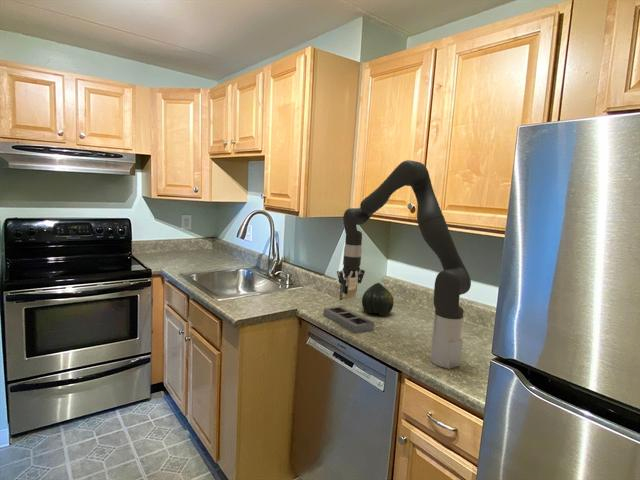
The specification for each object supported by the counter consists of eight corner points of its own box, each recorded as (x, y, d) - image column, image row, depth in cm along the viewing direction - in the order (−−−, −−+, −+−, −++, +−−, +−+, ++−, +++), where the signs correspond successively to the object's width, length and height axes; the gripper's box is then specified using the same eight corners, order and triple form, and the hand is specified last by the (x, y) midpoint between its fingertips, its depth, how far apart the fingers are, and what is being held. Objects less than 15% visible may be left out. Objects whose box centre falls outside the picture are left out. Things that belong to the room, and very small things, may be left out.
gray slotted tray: (373, 329, 158) (374, 323, 158) (354, 333, 153) (355, 326, 152) (340, 312, 178) (341, 306, 178) (323, 314, 173) (323, 308, 172)
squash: (378, 309, 168) (391, 282, 174) (352, 302, 178) (365, 276, 184) (390, 325, 176) (402, 298, 182) (364, 317, 187) (377, 292, 193)
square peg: (355, 300, 163) (357, 277, 162) (347, 301, 161) (349, 278, 160) (349, 297, 167) (351, 275, 165) (342, 298, 165) (344, 276, 163)
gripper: (344, 257, 154) (341, 297, 157) (370, 255, 162) (367, 294, 164) (333, 253, 161) (331, 292, 163) (360, 252, 168) (357, 289, 171)
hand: (349, 293), depth 164 cm, fingers closed on square peg, 4 cm apart
